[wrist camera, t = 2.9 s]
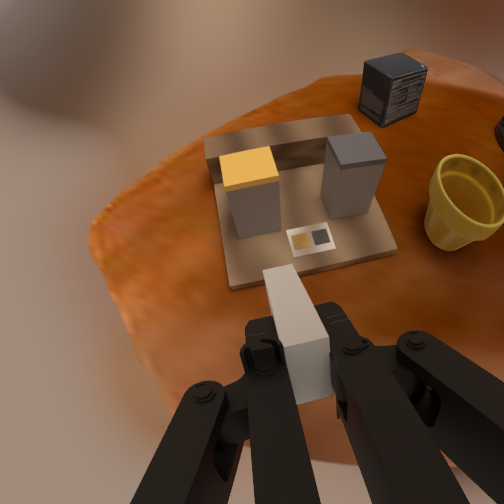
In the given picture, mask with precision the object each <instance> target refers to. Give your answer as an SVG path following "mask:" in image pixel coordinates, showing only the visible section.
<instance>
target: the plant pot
mask: <svg viewBox="0 0 504 504" xmlns="http://www.w3.org/2000/svg"><path fill="white" fill-rule="evenodd" d="M429 196H430V200H429V204H428V208H427V212H426V216H425V220H424V228H425V232H426V234H427V236H428V238H429V239H430V241H431V242H432V243H433V244H434V245H435V246H437V247H438V248H440V249H442V250H445V251H455V250H457V249H459V248H461V247H463V246H465V245H467V244H469V243H471V242H473V241H481V240H484V239H487V238H488V237H490V236H491V235H492V234H493V233H494V232H496V231H497V230H498V229H499V228H500V226H501V225H502V224H503V223H504V188H503V186H502V184H501V183H500V181H499V180H498V178H497V177H496V176H495V175H494V173H493V172H492V171H491V170H490V169H489V168H488V167H486V166H485V165H484V164H482V163H481V162H479V161H478V160H476V159H474V158H472V157H469V156H466V155H461V154H452V155H448V156H446V157H444V158H443V159H442V160H441V161H440V162H439V164H438V166H437V167H436V169H435V171H434V174H433V176H432V178H431V181H430V184H429Z"/></svg>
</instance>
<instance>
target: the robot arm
mask: <svg viewBox="0 0 504 504" xmlns="http://www.w3.org/2000/svg"><path fill="white" fill-rule="evenodd" d="M495 135H496V138H497V140H498V142H499V144H500V146H501V147H502V149H503V150H504V116H503V117H502V118H501V119H500V120H499V122H498V124H497V126H496V128H495ZM263 275H264V280H265V285H266V290H267V295H268V300H269V305H270V310H271V315H272V316H270V317H265V318H260V319H255V320H250V321H249V322H248V324H247V325H246V327H245V336H246V343H245V344H244V345H243V346H242V348H241V350H240V357H241V360H242V363H243V367H244V370H245V374H244V375H243V376H242V377H241V378H240V379H239V380H237V381H235V382H233V383H231V384H229V385H226V386H224V387H223V386H222V385H221V384H220V383H218V382H215V381H202V382H200V383H197V384H194V385H193V386H191V387H190V388H189V389H188V390H187V391H186V392H185V394H184V396H183V398H182V400H181V402H180V404H179V406H178V408H177V410H176V412H175V414H174V416H173V418H172V420H171V422H170V424H169V426H168V428H167V430H166V432H165V434H164V436H163V438H162V440H161V442H160V444H159V447H158V448H157V450H156V452H155V455H154V457H153V458H152V461H151V462H150V464H149V466H148V469H147V471H146V473H145V475H144V477H143V479H142V481H141V483H140V485H139V487H138V489H137V491H136V493H135V495H134V497H133V499H132V501H131V503H130V504H227V503H228V500H229V496H230V493H231V489H232V486H233V482H234V478H235V475H236V471H237V467H238V464H239V460H240V456H241V452H242V448H243V445H244V441H245V440H247V439H250V446H251V459H252V472H253V484H254V497H255V504H321V502H320V498H319V494H318V490H317V486H316V482H315V477H314V473H313V469H312V465H311V461H310V457H309V453H308V449H307V445H306V441H305V436H304V432H303V428H302V424H301V420H300V416H299V412H298V408H297V405H298V404H302V403H306V402H311V401H315V400H319V399H323V398H327V397H330V396H333V389H334V392H335V394H336V406H337V419H339V418H340V416H341V419H342V421H343V424H344V427H345V430H346V432H347V435H348V438H349V440H350V443H351V446H352V449H353V451H354V454H355V457H356V460H357V462H358V465H359V468H360V470H361V473H362V476H363V479H364V482H365V484H366V487H367V490H368V493H369V496H370V499H371V502H372V504H470V503H469V501H468V499H467V497H466V496H465V494H464V492H463V490H462V488H461V486H460V485H459V483H458V481H457V479H456V477H455V476H454V474H453V472H452V470H451V468H450V467H449V465H448V463H447V461H446V460H445V458H444V456H443V455H442V453H441V451H442V452H443V453H444V454H445V455H446V456H447V457H448V458H449V459H450V460H451V461H453V462H454V463H455V464H456V465H457V466H458V467H459V468H460V469H461V470H462V471H463V472H464V473H465V474H466V475H467V476H468V477H469V478H470V479H471V480H473V481H474V482H475V483H476V484H477V485H478V486H479V487H480V488H481V489H482V490H483V491H484V492H485V493H486V494H487V495H488V496H490V497H491V498H492V499H493V500H494V501H495V502H496V503H497V504H504V382H502V381H501V380H499V379H498V378H496V377H495V376H493V375H492V374H490V373H489V372H487V371H486V370H484V369H483V368H481V367H480V366H478V365H477V364H475V363H474V362H472V361H471V360H469V359H468V358H466V357H465V356H463V355H462V354H460V353H459V352H457V351H455V350H454V349H452V348H451V347H449V346H448V345H446V344H445V343H443V342H442V341H440V340H439V339H437V338H435V337H434V336H432V335H431V334H429V333H427V332H424V331H417V330H416V331H409V332H406V333H404V334H402V335H401V336H400V337H399V338H398V341H397V345H390V346H375V345H373V343H372V342H371V341H370V340H369V339H367V338H364V337H361V336H359V334H358V333H357V331H356V329H355V328H354V326H353V325H352V323H351V322H350V320H349V319H348V317H347V316H346V314H345V313H344V311H343V310H342V308H341V307H340V306H339V305H337V304H335V303H334V302H328V303H323V304H319V305H315V306H313V304H312V302H311V300H310V298H309V296H308V294H307V292H306V290H305V288H304V286H303V284H302V282H301V280H300V278H299V276H298V274H297V272H296V270H295V269H294V267H293V265H292V264H289V265H284V266H279V267H275V268H270V269H265V270H263ZM440 450H441V451H440Z"/></svg>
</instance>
